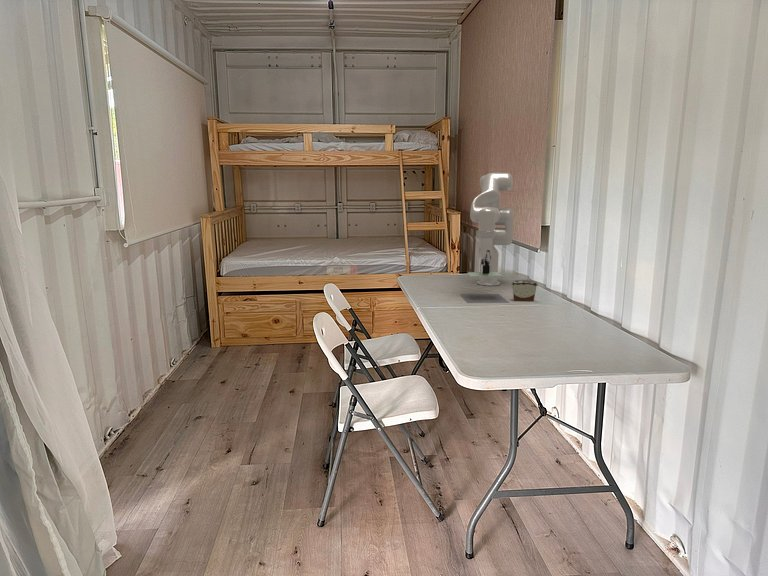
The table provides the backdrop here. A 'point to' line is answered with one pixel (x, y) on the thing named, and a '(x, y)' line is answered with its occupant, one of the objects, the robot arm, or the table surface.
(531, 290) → the food container
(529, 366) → the table surface
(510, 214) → the robot arm
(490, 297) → the mat
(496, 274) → the lid
